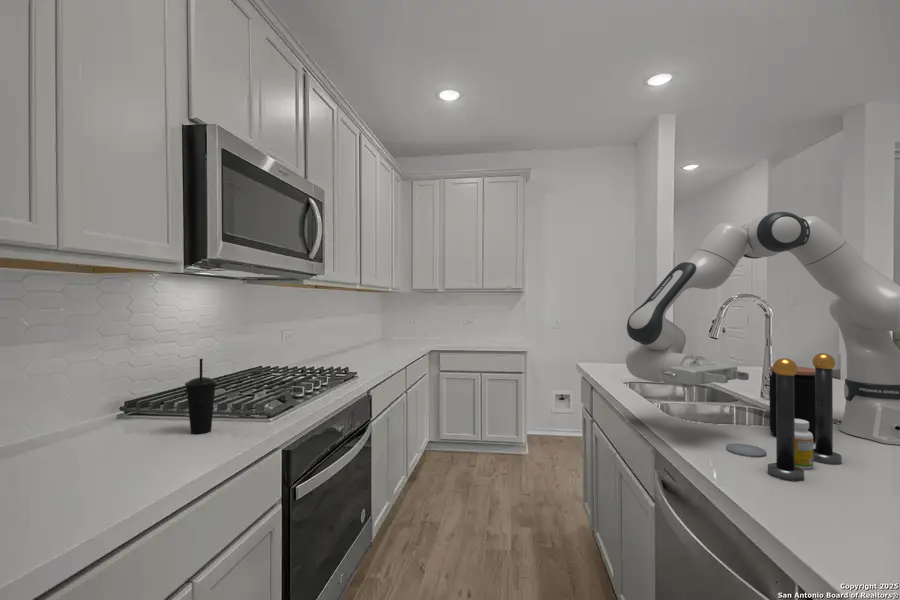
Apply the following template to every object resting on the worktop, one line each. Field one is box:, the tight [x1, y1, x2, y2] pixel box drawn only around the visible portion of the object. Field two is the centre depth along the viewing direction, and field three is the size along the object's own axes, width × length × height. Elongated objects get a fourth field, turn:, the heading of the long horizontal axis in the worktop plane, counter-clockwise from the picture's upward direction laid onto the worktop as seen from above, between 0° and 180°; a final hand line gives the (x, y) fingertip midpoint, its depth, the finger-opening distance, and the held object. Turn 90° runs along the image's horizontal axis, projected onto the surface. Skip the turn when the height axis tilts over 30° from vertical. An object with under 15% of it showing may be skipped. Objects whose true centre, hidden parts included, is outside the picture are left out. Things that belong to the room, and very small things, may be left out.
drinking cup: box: [184, 358, 217, 435], centre depth 124 cm, size 8×8×20 cm
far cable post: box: [811, 352, 843, 466], centre depth 102 cm, size 6×6×24 cm
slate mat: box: [725, 443, 767, 458], centre depth 108 cm, size 8×8×1 cm
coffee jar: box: [769, 365, 815, 443], centre depth 119 cm, size 11×11×18 cm
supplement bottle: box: [795, 419, 814, 470], centre depth 99 cm, size 5×5×10 cm
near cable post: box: [767, 357, 805, 482], centre depth 93 cm, size 6×6×24 cm
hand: (737, 378), depth 109 cm, fingers open, 8 cm apart
